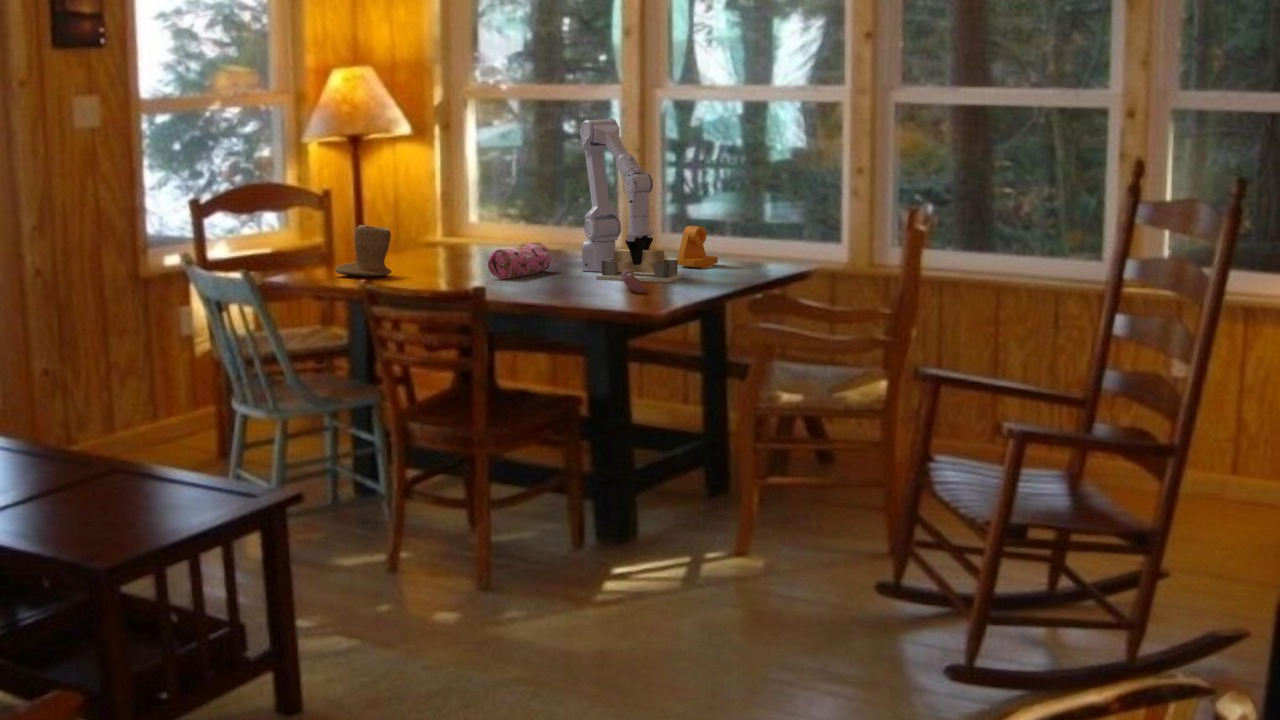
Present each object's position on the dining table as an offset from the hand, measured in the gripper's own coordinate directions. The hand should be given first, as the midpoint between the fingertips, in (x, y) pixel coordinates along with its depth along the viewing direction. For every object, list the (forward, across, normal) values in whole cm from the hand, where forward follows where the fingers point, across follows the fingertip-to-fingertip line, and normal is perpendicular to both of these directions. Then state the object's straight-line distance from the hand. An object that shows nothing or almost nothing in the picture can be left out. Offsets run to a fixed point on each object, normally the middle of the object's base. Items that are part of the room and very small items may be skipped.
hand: (639, 263), depth 492 cm
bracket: (+4, +28, -8) cm, 29 cm away
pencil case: (+4, -4, +36) cm, 36 cm away
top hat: (+4, -18, +78) cm, 80 cm away
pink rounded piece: (+4, -23, -7) cm, 25 cm away
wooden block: (+2, 0, 0) cm, 2 cm away
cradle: (+4, 0, 0) cm, 4 cm away
